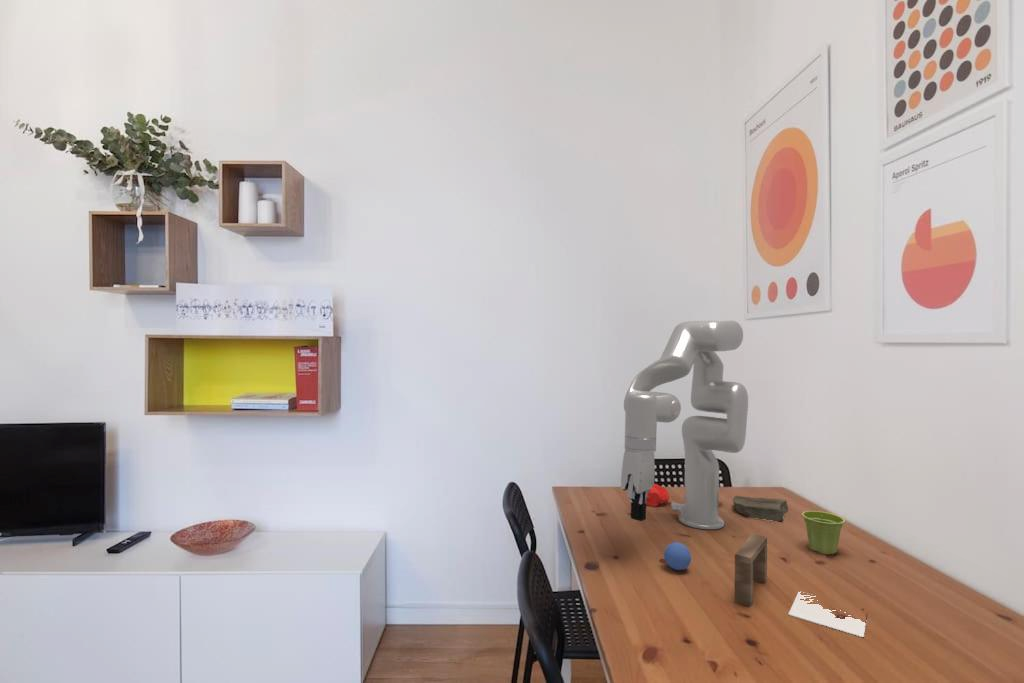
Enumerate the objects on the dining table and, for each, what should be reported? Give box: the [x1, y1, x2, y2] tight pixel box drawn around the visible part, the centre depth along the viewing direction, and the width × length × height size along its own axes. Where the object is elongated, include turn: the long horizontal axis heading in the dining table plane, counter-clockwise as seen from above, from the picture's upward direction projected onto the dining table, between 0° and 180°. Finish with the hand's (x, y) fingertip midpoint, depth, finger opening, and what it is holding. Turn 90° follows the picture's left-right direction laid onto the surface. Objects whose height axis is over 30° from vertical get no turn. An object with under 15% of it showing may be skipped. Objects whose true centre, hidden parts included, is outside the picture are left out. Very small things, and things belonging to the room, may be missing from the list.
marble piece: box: [732, 495, 789, 522], centre depth 158 cm, size 17×15×4 cm
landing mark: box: [788, 591, 867, 638], centre depth 98 cm, size 12×12×1 cm
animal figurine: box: [646, 483, 671, 507], centre depth 170 cm, size 12×15×5 cm
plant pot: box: [801, 510, 846, 555], centre depth 129 cm, size 9×9×9 cm
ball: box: [663, 541, 692, 571], centre depth 116 cm, size 6×6×6 cm
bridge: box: [733, 533, 768, 607], centre depth 106 cm, size 3×15×10 cm, turn 142°
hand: (638, 519), depth 122 cm, fingers closed
